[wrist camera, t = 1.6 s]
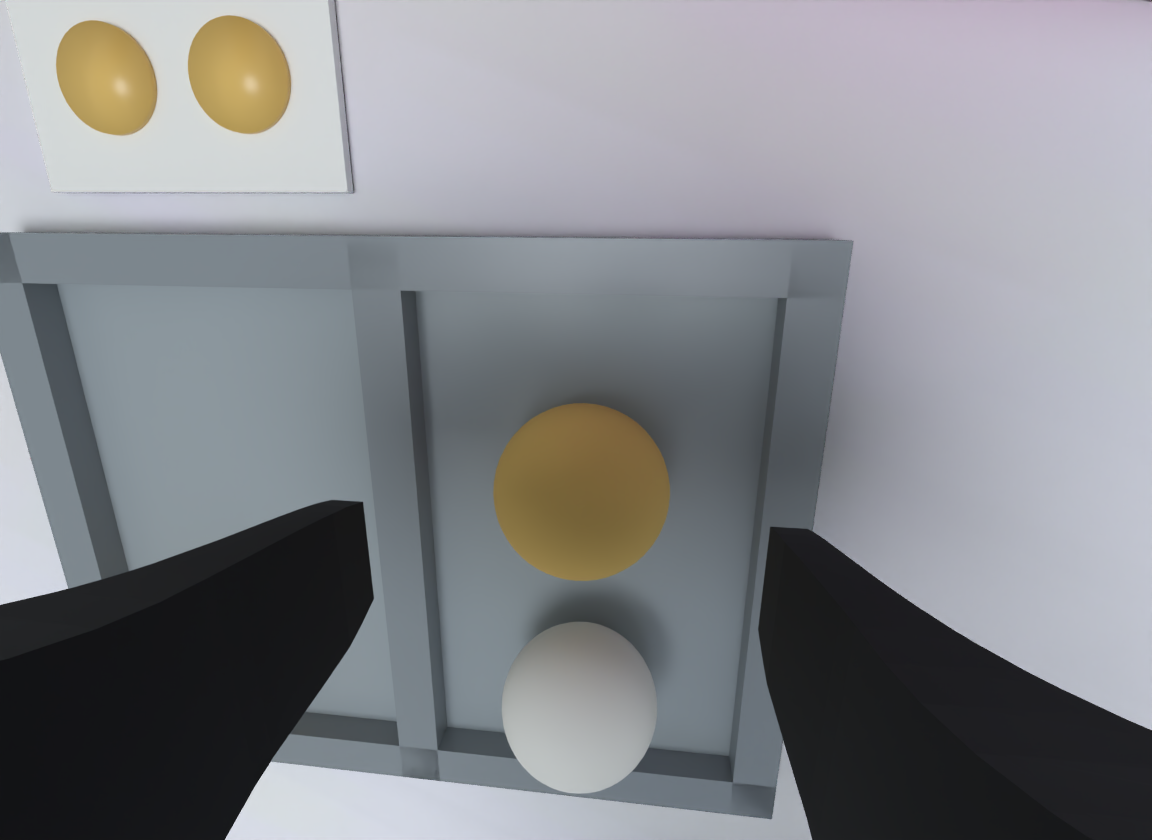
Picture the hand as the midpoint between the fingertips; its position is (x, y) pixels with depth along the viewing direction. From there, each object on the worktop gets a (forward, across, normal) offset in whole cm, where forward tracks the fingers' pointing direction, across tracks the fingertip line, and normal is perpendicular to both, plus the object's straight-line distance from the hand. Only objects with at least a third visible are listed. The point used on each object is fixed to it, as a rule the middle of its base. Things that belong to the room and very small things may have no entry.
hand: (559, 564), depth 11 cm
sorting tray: (+6, +5, +3) cm, 8 cm away
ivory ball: (+5, 0, +6) cm, 8 cm away
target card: (+6, +10, -9) cm, 15 cm away
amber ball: (+5, 0, 0) cm, 5 cm away
